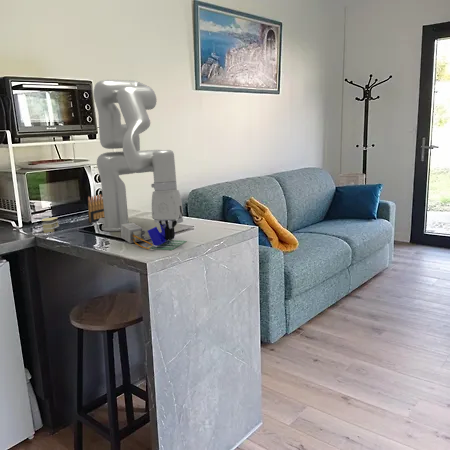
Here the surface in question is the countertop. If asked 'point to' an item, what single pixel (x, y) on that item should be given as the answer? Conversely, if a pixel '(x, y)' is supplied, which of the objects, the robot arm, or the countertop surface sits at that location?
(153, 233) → the cable clip
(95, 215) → the ammunition clip
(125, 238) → the electrical component
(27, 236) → the countertop surface
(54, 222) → the stacked layers on plate
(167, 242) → the header pad
